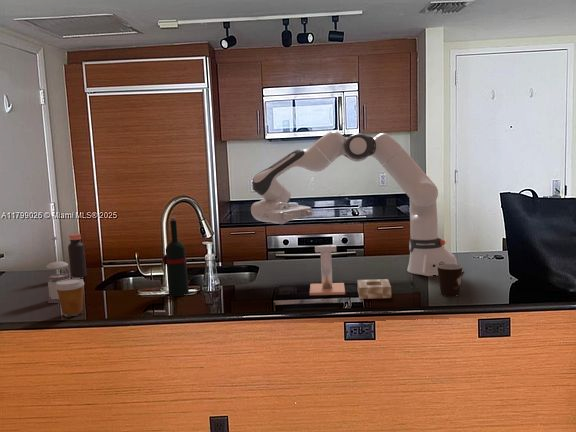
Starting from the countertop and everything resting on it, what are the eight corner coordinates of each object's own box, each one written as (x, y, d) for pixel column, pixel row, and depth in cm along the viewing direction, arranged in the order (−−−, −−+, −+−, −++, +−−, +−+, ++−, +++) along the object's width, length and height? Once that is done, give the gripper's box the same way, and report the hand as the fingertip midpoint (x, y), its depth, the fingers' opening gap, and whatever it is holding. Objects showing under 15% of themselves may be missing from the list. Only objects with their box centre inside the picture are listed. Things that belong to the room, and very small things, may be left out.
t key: (337, 285, 206) (336, 244, 204) (337, 288, 202) (336, 246, 200) (316, 286, 207) (315, 245, 205) (316, 289, 203) (314, 247, 201)
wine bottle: (165, 291, 214) (159, 216, 210) (190, 290, 214) (185, 215, 210) (160, 297, 206) (154, 219, 203) (186, 295, 206) (181, 218, 202)
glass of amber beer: (91, 310, 193) (88, 277, 192) (80, 318, 184) (77, 284, 182) (65, 311, 194) (62, 278, 192) (53, 319, 184) (49, 285, 183)
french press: (41, 304, 205) (34, 239, 201) (58, 295, 216) (52, 234, 213) (65, 303, 203) (58, 238, 200) (81, 295, 215) (75, 233, 211)
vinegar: (76, 280, 241) (72, 236, 239) (68, 278, 245) (63, 235, 243) (90, 276, 247) (85, 233, 244) (81, 275, 251) (77, 232, 248)
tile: (343, 285, 211) (343, 282, 211) (345, 294, 198) (345, 291, 198) (310, 286, 212) (310, 283, 212) (309, 295, 199) (309, 292, 199)
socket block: (387, 289, 202) (387, 279, 201) (391, 297, 191) (391, 286, 190) (357, 290, 203) (357, 280, 202) (359, 298, 191) (359, 287, 191)
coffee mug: (448, 298, 186) (447, 270, 185) (432, 293, 194) (432, 265, 193) (474, 293, 191) (474, 266, 189) (458, 288, 199) (458, 261, 197)
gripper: (259, 208, 214) (281, 210, 203) (297, 202, 227) (320, 204, 216) (260, 223, 214) (282, 226, 204) (298, 217, 228) (321, 220, 217)
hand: (302, 215), depth 210 cm, fingers open, 8 cm apart
